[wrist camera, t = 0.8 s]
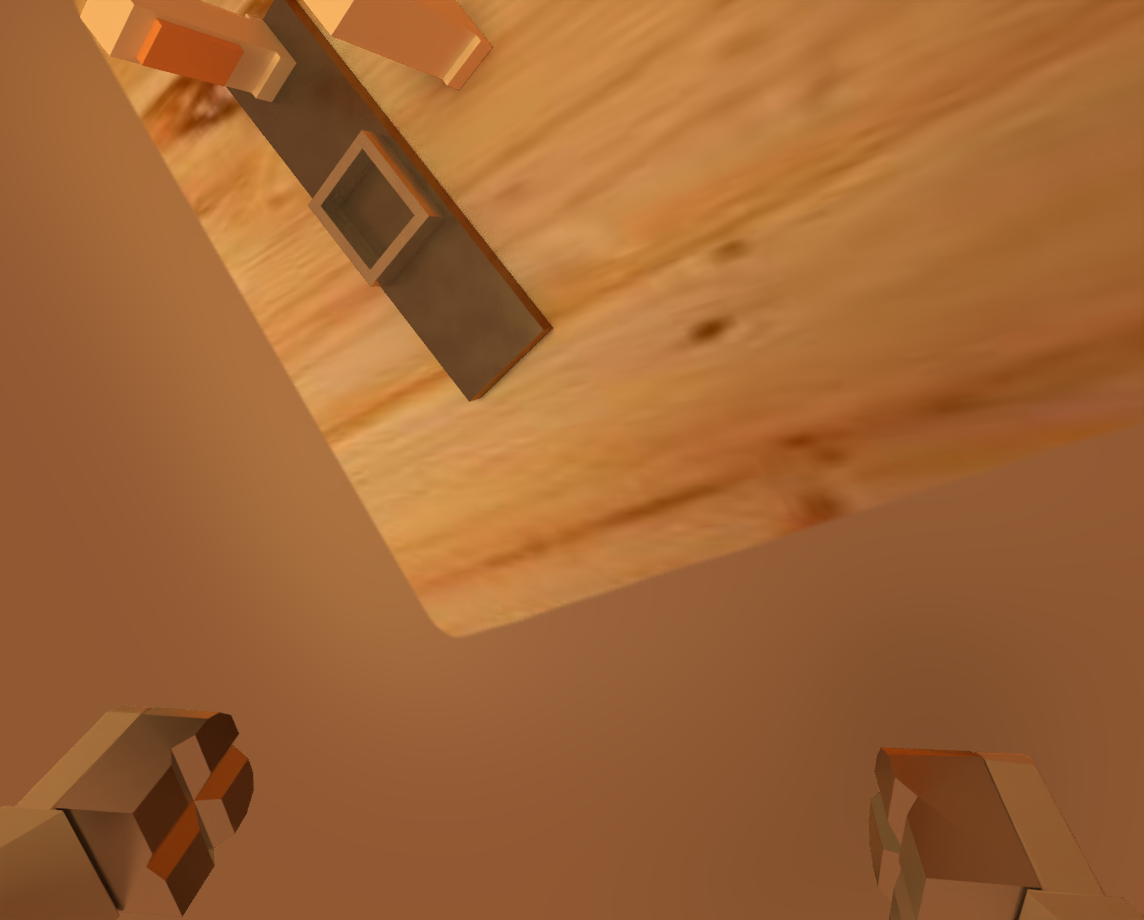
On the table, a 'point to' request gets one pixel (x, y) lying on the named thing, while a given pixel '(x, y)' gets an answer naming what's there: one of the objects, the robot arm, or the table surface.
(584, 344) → the table surface
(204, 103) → the table surface
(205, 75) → the post
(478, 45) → the beige tall square block
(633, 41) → the table surface
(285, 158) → the rail
